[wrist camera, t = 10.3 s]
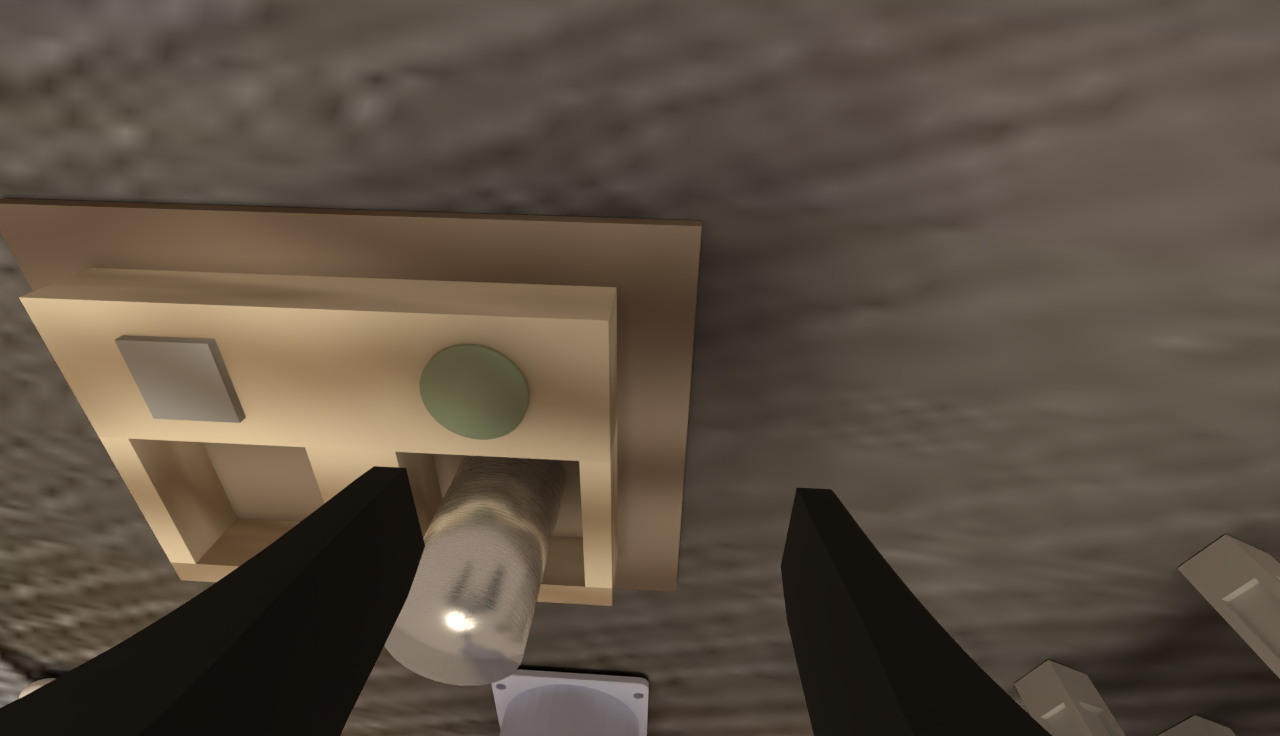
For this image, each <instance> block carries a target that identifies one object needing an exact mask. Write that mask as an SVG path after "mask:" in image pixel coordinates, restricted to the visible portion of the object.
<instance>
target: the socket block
mask: <svg viewBox="0 0 1280 736" xmlns="http://www.w3.org/2000/svg"><path fill="white" fill-rule="evenodd" d="M701 230H702V224H701V220H670V219H639V218H607V217H576V216H545V215H513V214H482V213H451V212H419V211H388V210H357V209H325V208H294V207H263V206H231V205H200V204H169V203H137V202H106V201H75V200H43V199H12V198H3V199H0V233H1V234H2V236H3V238H4V240H5V242H6V243H7V245H8V247H9V249H10V251H11V252H12V254H13V256H14V258H15V259H16V261H17V263H18V265H19V267H20V268H21V270H22V272H23V274H24V276H25V277H26V279H27V281H28V283H29V285H30V286H31V288H32V290H33V292H31V293H29V294H26V295H24V296H21V297H19V298H20V300H21V302H22V304H23V305H24V307H25V309H26V311H27V312H28V314H29V316H30V318H31V319H32V321H33V323H34V325H35V326H36V328H37V330H38V331H39V333H40V335H41V337H42V338H43V340H44V342H45V344H46V345H47V347H48V349H49V351H50V352H51V354H52V356H53V358H54V359H55V361H56V363H57V365H58V366H59V368H60V370H61V372H62V373H63V375H64V377H65V379H66V380H67V382H68V384H69V386H70V387H71V389H72V391H73V393H74V394H75V396H76V398H77V400H78V401H79V403H80V405H81V407H82V408H83V410H84V412H85V414H86V415H87V417H88V419H89V420H90V422H91V424H92V426H93V427H94V429H95V431H96V433H97V434H98V436H99V438H100V440H101V441H102V443H103V445H104V447H105V448H106V450H107V452H108V454H109V455H110V457H111V459H112V461H113V462H114V464H115V466H116V468H117V469H118V471H119V473H120V475H121V476H122V478H123V480H124V482H125V483H126V485H127V487H128V489H129V490H130V492H131V494H132V496H133V497H134V499H135V501H136V503H137V504H138V506H139V508H140V509H141V511H142V513H143V515H144V516H145V518H146V520H147V522H148V523H149V525H150V527H151V529H152V530H153V532H154V534H155V536H156V537H157V539H158V541H159V543H160V544H161V546H162V548H163V550H164V551H165V553H166V555H167V557H168V558H169V560H170V562H171V564H172V565H173V567H174V569H175V571H176V572H177V574H178V576H179V578H180V579H181V580H188V581H205V582H218V581H219V580H221V579H222V578H223V577H225V576H226V575H228V574H229V573H230V572H232V571H233V570H235V569H236V568H238V567H239V566H240V565H242V564H243V563H245V562H246V561H248V560H249V559H250V558H252V557H253V556H255V555H256V554H258V553H259V552H260V551H262V550H263V549H265V548H266V547H268V546H269V545H270V544H272V543H273V542H274V541H276V540H277V539H278V538H280V537H281V536H282V535H284V534H285V533H286V532H288V531H289V530H290V529H292V528H293V527H294V526H296V525H297V524H298V523H300V522H301V521H302V520H304V519H305V518H306V517H307V516H309V515H310V514H311V513H313V512H314V511H315V510H317V509H318V508H319V507H321V506H322V505H323V504H324V503H326V502H327V501H328V500H330V499H331V498H332V497H334V496H335V495H336V494H337V493H339V492H340V491H341V490H343V489H344V488H345V487H347V486H348V485H349V484H351V483H352V482H353V481H354V480H356V479H357V478H358V477H360V476H361V475H363V474H364V473H365V472H367V471H368V470H370V469H371V468H372V467H374V466H379V467H399V468H406V470H407V474H408V478H409V482H410V486H411V490H412V494H413V498H414V502H415V507H416V511H417V515H418V519H419V523H420V527H421V531H422V535H423V538H424V536H425V534H426V532H427V530H428V528H429V526H430V524H431V522H432V520H433V518H434V516H435V514H436V512H437V510H438V508H439V506H440V504H441V502H442V500H443V498H444V496H445V494H446V492H447V490H448V488H449V486H450V484H451V482H452V480H453V478H454V476H455V474H456V472H457V470H458V468H459V466H460V464H461V462H462V460H463V458H464V457H465V455H470V456H490V457H510V458H530V459H550V460H559V461H560V463H561V465H562V467H563V469H564V472H565V477H566V485H565V490H564V494H563V498H562V502H561V506H560V510H559V514H558V518H557V522H556V526H555V530H554V534H553V538H552V542H551V546H550V550H549V554H548V558H547V562H546V566H545V570H544V574H543V579H542V583H541V587H540V591H539V595H538V599H537V602H554V603H571V604H587V605H604V606H612V604H613V595H614V588H618V589H635V590H652V591H669V592H676V582H677V568H678V554H679V540H680V526H681V512H682V497H683V483H684V469H685V455H686V441H687V427H688V413H689V399H690V385H691V371H692V357H693V343H694V328H695V314H696V300H697V286H698V272H699V258H700V244H701Z"/></svg>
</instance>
